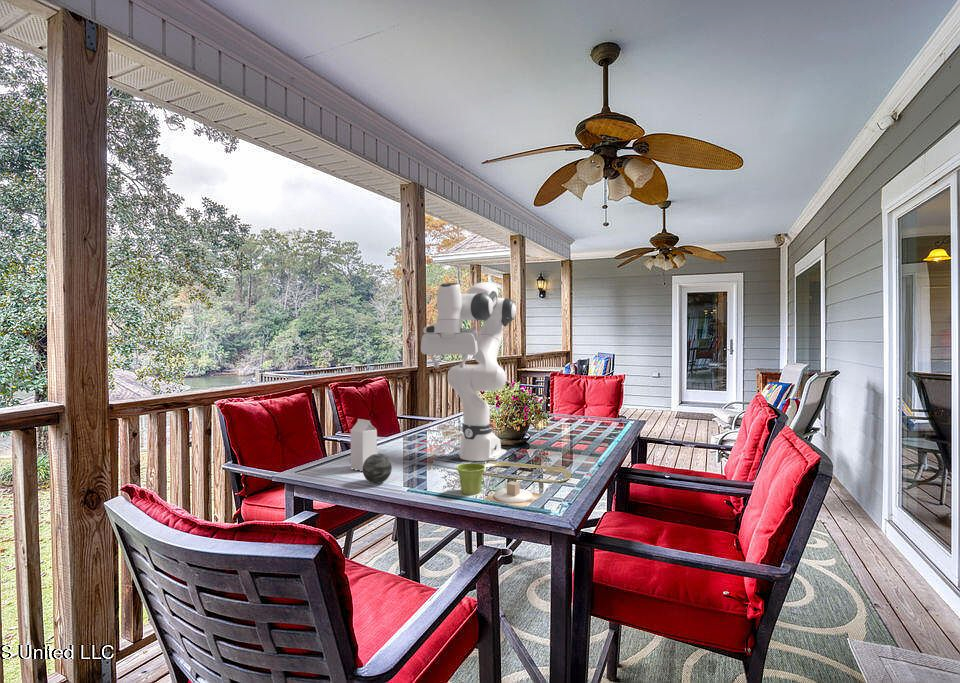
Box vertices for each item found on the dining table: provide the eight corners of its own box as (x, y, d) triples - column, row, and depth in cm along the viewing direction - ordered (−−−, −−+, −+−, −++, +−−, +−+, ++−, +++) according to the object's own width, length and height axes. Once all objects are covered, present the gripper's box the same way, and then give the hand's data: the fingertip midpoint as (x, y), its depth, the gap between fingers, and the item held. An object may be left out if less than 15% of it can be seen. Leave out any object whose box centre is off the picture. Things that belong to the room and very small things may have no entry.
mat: (505, 488, 162) (505, 486, 162) (543, 496, 155) (543, 494, 155) (482, 500, 151) (482, 498, 151) (522, 509, 143) (522, 507, 143)
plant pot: (460, 499, 152) (460, 471, 152) (453, 490, 161) (453, 464, 161) (488, 496, 155) (488, 469, 154) (481, 487, 164) (480, 462, 164)
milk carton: (362, 472, 182) (362, 421, 182) (350, 469, 186) (350, 420, 186) (377, 468, 188) (377, 419, 188) (365, 465, 192) (365, 417, 192)
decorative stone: (382, 476, 177) (381, 449, 176) (397, 482, 169) (397, 454, 169) (357, 482, 170) (357, 454, 170) (372, 489, 162) (372, 459, 162)
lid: (506, 488, 161) (506, 475, 161) (538, 494, 155) (538, 481, 154) (487, 498, 151) (486, 484, 151) (521, 505, 144) (521, 491, 144)
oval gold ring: (564, 488, 165) (564, 483, 165) (470, 476, 178) (470, 472, 178) (576, 473, 182) (576, 469, 182) (489, 464, 196) (489, 460, 196)
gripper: (479, 328, 172) (479, 367, 172) (425, 328, 177) (424, 366, 177) (475, 328, 166) (475, 368, 166) (419, 328, 170) (418, 367, 170)
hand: (449, 367), depth 171 cm, fingers open, 8 cm apart
